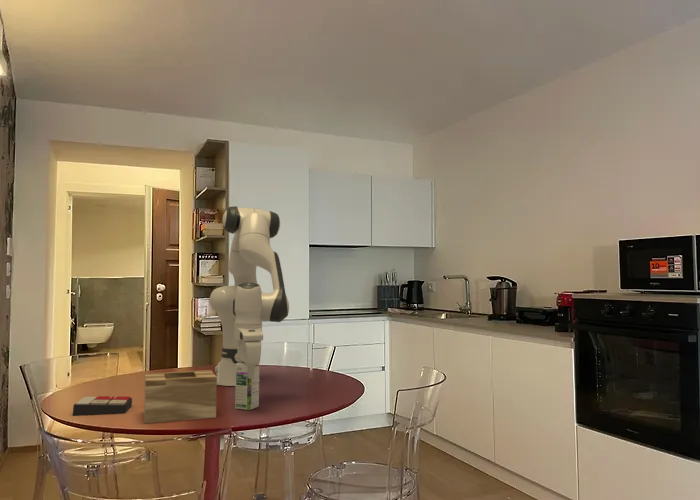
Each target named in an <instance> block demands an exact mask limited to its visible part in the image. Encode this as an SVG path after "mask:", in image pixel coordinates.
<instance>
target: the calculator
mask: <svg viewBox="0 0 700 500" xmlns="http://www.w3.org/2000/svg"><path fill="white" fill-rule="evenodd" d="M132 406H133V397H131V396H121V395H120V396H119V395H118V396H117V395H115V396H112V395H111V396H109V395H108V396H107V395H105V396H104V395H102V396H101V395H100V396H84V397H82V398H81V399H80V400H78V401H77V402H75V403H74V404H73V407H72V416H73V417H80V416H81V417H82V416H89V415H90V416H91V415H93V416H94V415H96V416H97V415H98V416H99V415H101V416H102V415H105V416H106V415H125V414H126V413H127V412H128V411H129V410H130V409H131V407H132Z"/></svg>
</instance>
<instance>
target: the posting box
mask: <svg viewBox="0 0 700 500" xmlns="http://www.w3.org/2000/svg"><path fill="white" fill-rule="evenodd" d="M217 386H218V385H217V377H216V374H215V373H214V372H213V370H212V369H206V370H205V369H203V370H202V369H200V370H187V371H186V370H185V371H184V370H183V371H166V372H164V371H163V372H150V373H149V372H148V373H144V401H143V402H144V404H143V408H144V410H143V416H144V424H155V423H157V424H158V423H167V422H178V421H188V420H189V421H190V420H202V419H203V420H204V419H213V418H214V419H215V418H217Z"/></svg>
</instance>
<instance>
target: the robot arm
mask: <svg viewBox="0 0 700 500" xmlns="http://www.w3.org/2000/svg"><path fill="white" fill-rule="evenodd" d="M222 225H223V229H224V230H225V232H228V233H230V234H233V238H232V240H231V245H230V251H229V253H230V254H229V258H228V265H227V266H228V267H227V268H228V272H229V273H230V274H231V275H232V276H233V280H234V285H223V286H220V287H217V288H215V289H213V290H212V291H211V294H210V296H209V304H210V307H211V309H212V310H213V311H214V312H215V313H216V314H217V316H218V319H219V320H220V324H221V327H222V348H221V352H220V353H221V355H220V356H221V359H220V360H219V362H218V364H217V365H216V366H215V367H214V372H215V373H216V374H215V375H216V377H217V386H223V387H225V386H226V387H230V386H231V387H236V363H239V362H244V363H246V364H247V365H248V373H247V377H248V378H249V379H253V378H254V370H255V365H259V366H260V362H261V353H262V341H264V333H263V322H273V323H281V322H282V321H283V320H285V319H286V318H287V317H288V316H289V312H290V302H289V300H288V299H289V298H288V296H287V294H286V288H285V287H286V286H285V282H284V278H283V277H284V276H283V271H282V265H281V260H280V258H279V254H278V252H276V251H274V250H273V248H272V247H271V244H270V242H271V240H270V239H273V238H274V237H276V236H277V235H278V233H279V231H280V229H281V220H280V216H279V214H278V213H276V212H273V211H271V210H270V211H267V210H265V209H260V208H255V207H254V208H251V207H242V206H241V207H240V206H239V207H238V206H235V205H233V206H228V207H227V208H226V210H225V212H224V213H223V215H222ZM257 267H259V268H261V269H264V270H266V271H267V272H268V273H269V274H270V276H271V282H272V283H271V284H272V289H273V291H271V292H263V291H262V287H261V285H260V284H259V283H258V280H257ZM260 382H261V379H260V378H259V383H260Z"/></svg>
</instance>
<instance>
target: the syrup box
mask: <svg viewBox="0 0 700 500" xmlns="http://www.w3.org/2000/svg"><path fill="white" fill-rule="evenodd" d="M247 373H248V365H247V364H246V363H244V362H239V363H236V386H235V388H234V389H235V392H234V393H235V394H234V395H235V396H234V397H235V399H234V402H235V403H234V409H235V410H245V411H251V410H254V409H256V408H258V407H259V406H260V405H259V404H260V382H259V379H260V364H259V365H255V370H254V378H253V379H249V378H248V377H247Z"/></svg>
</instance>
